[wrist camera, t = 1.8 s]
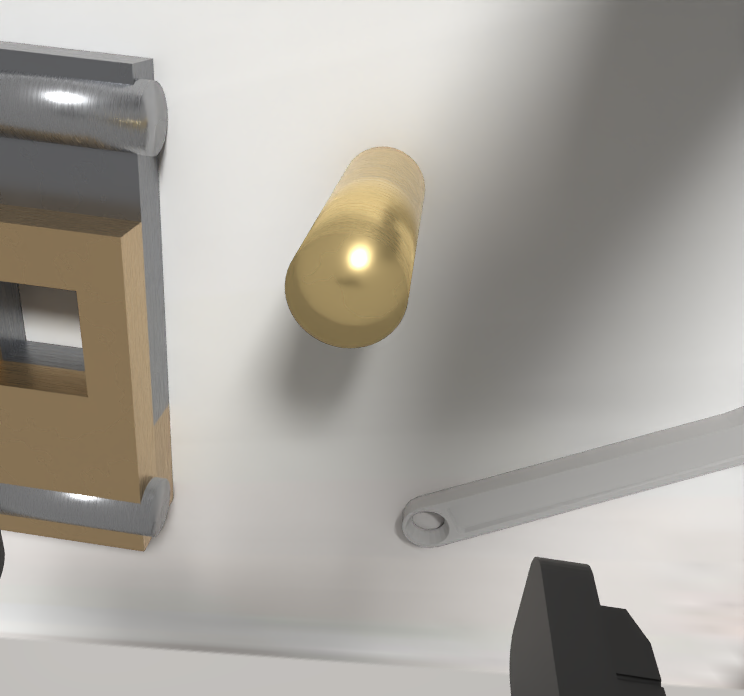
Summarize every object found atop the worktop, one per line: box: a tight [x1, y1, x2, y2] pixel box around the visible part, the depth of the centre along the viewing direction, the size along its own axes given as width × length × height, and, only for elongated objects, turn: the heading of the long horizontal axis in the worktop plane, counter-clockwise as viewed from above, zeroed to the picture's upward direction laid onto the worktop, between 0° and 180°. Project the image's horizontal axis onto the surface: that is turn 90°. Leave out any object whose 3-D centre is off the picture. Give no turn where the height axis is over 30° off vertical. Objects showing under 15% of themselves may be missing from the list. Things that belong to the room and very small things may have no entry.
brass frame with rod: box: [0, 41, 173, 551], centre depth 31 cm, size 22×10×4 cm, turn 175°
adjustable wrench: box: [402, 406, 744, 548], centre depth 33 cm, size 25×6×2 cm, turn 110°
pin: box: [285, 147, 425, 348], centre depth 24 cm, size 3×3×11 cm
